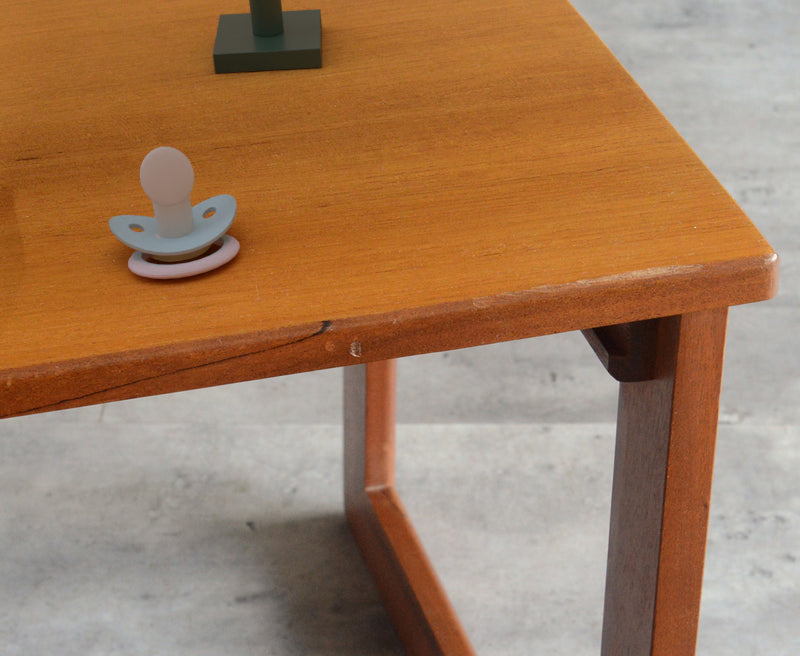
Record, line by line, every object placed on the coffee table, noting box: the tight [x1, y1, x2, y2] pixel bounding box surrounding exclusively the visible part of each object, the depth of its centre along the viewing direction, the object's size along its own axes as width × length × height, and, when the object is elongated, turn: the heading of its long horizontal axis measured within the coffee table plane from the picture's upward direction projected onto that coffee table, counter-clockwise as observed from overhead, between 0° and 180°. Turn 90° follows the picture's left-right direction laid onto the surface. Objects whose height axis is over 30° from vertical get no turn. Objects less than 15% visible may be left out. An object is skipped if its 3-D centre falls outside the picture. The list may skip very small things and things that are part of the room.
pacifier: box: [108, 146, 241, 280], centre depth 67 cm, size 7×6×6 cm
